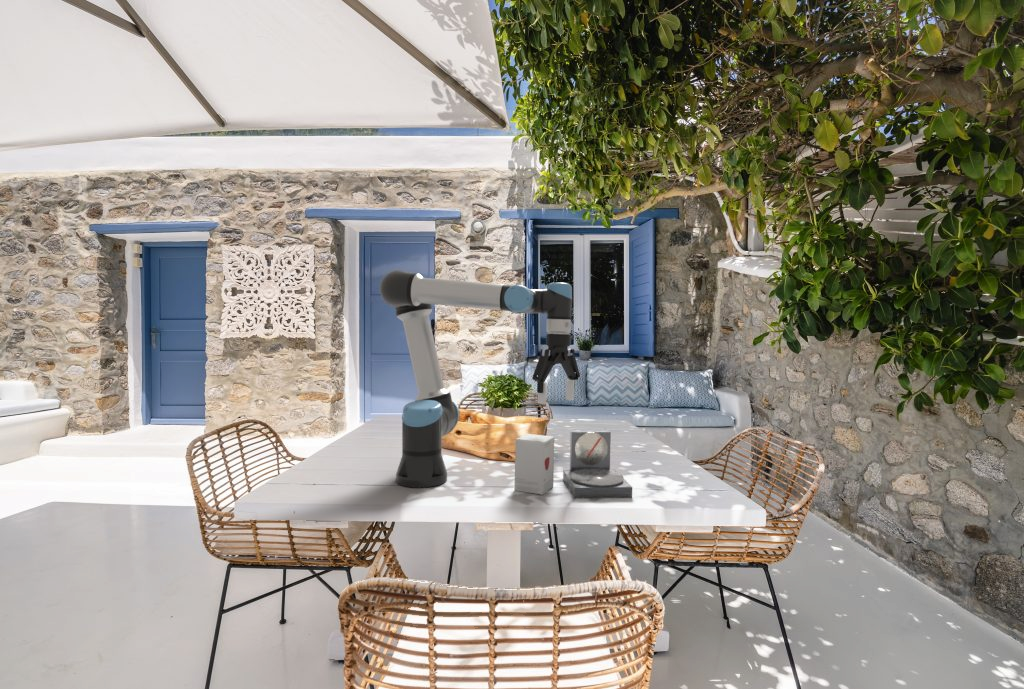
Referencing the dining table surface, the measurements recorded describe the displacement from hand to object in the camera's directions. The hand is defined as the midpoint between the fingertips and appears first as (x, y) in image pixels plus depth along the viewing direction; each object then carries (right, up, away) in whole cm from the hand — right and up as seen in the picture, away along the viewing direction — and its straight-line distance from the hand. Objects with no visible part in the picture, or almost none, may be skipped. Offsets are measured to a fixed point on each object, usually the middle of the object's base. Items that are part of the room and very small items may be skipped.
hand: (556, 401), depth 163 cm
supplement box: (-7, -24, -11) cm, 28 cm away
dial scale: (+11, -24, -10) cm, 28 cm away
